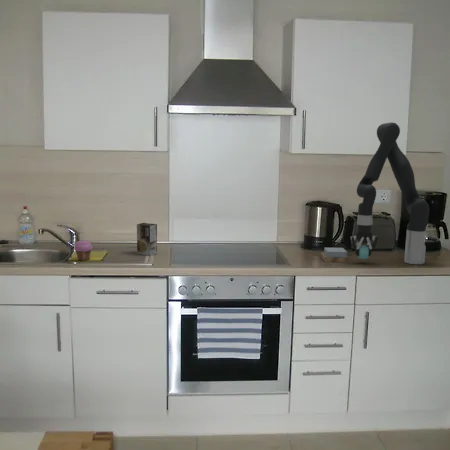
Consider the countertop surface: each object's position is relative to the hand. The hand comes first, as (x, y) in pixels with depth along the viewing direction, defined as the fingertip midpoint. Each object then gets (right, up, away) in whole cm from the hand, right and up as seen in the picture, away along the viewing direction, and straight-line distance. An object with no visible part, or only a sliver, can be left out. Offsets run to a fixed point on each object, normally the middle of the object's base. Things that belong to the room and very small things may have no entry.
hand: (363, 255), depth 278 cm
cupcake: (-142, -2, -5) cm, 143 cm away
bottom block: (-14, -3, +8) cm, 16 cm away
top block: (-13, 0, +7) cm, 15 cm away
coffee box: (-113, 0, +12) cm, 113 cm away
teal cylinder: (0, -1, 0) cm, 1 cm away
